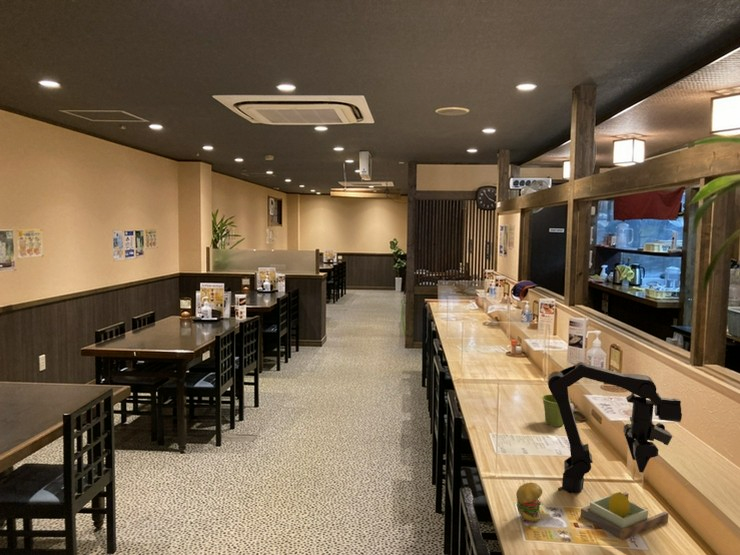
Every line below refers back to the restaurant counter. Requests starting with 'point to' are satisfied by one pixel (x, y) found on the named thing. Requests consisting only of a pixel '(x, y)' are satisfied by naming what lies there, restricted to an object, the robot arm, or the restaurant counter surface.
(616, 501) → the lemon
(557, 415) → the plant pot
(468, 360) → the restaurant counter surface
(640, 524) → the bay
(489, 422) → the restaurant counter surface
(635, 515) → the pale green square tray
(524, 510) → the hamburger
